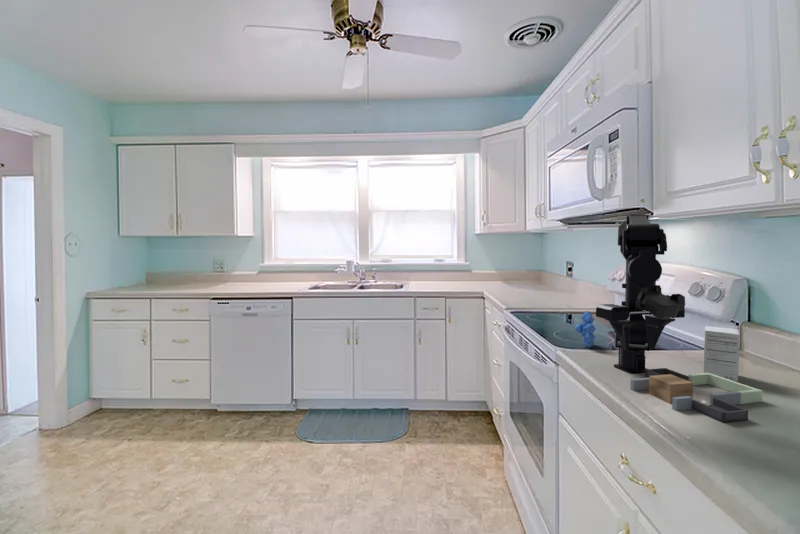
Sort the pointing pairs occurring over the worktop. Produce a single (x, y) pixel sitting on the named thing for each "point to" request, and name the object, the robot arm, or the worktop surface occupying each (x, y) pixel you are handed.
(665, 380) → the walnut block
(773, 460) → the worktop surface
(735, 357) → the supplement box
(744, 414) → the box
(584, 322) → the grapes
